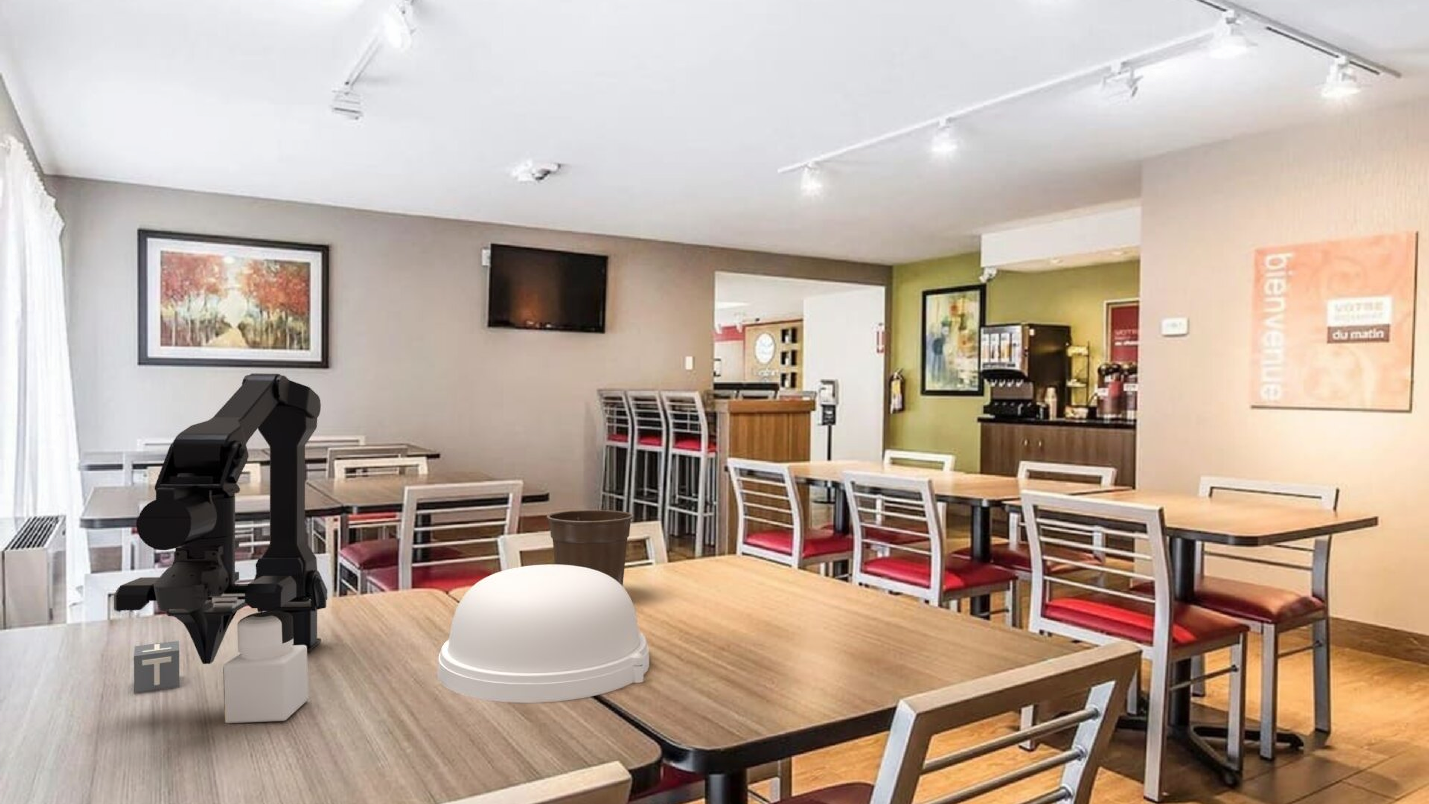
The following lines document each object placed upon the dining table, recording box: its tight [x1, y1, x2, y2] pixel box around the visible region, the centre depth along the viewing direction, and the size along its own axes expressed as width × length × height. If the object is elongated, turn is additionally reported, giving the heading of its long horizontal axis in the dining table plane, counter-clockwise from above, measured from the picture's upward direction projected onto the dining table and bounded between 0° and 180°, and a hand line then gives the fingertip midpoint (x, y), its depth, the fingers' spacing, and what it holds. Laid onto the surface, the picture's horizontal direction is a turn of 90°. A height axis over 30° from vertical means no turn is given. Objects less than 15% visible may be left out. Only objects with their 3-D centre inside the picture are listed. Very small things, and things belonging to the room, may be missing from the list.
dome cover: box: [436, 563, 650, 704], centre depth 126 cm, size 32×30×14 cm
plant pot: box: [546, 509, 634, 587], centre depth 166 cm, size 16×16×16 cm
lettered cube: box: [133, 640, 180, 695], centre depth 116 cm, size 5×5×5 cm
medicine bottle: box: [222, 611, 309, 724], centre depth 107 cm, size 7×7×12 cm
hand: (207, 663), depth 106 cm, fingers closed
